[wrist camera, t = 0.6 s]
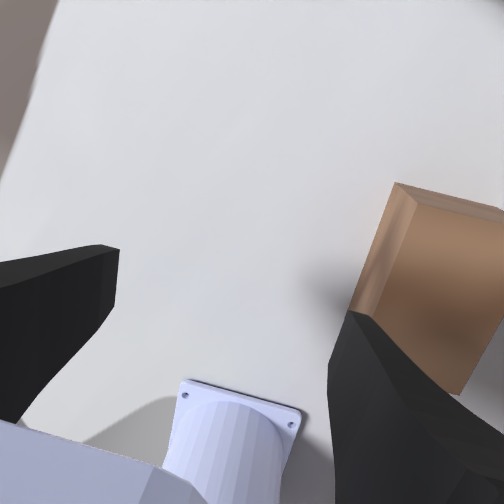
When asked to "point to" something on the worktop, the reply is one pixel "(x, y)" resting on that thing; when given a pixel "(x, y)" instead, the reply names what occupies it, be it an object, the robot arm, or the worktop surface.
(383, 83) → the worktop surface
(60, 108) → the worktop surface
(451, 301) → the walnut block
